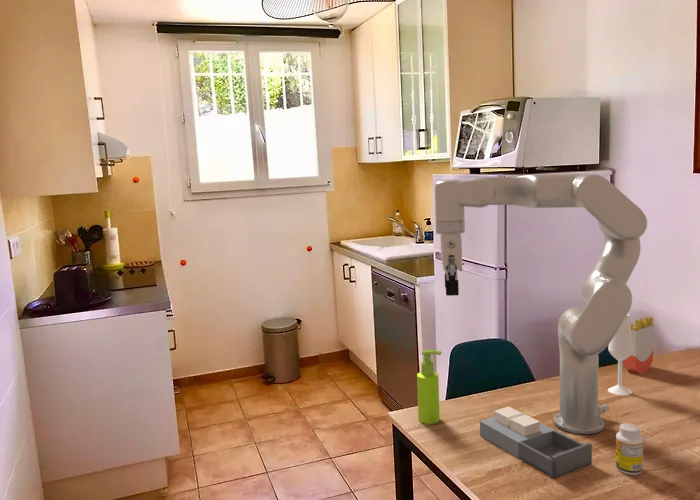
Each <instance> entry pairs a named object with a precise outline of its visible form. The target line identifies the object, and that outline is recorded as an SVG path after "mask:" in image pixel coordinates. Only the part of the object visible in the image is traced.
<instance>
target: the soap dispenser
mask: <svg viewBox="0 0 700 500" xmlns="http://www.w3.org/2000/svg"><path fill="white" fill-rule="evenodd" d="M442 353H443V352H442V351H441V350H437V349H422V350H421V355H423V361H421V365H420V368H421V371H420V372H418V373H417V374H416V380H417V385H416V386H417V412H418V413H417V414H418V421H419V422H420V423H421V424H424V425H426V424H427V425H434V424H437V423H439V421H440V420H441V419H440V418H441V417H440V415H441V414H440V413H441V412H440V388H439V387H440V386H439V382H440V381H439V373H438V372H435V370H434V361H433V360H431V355H438V356H440V355H442Z"/></svg>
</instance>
